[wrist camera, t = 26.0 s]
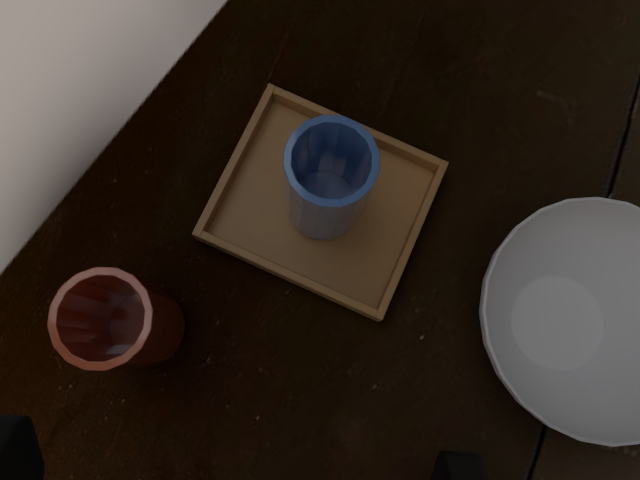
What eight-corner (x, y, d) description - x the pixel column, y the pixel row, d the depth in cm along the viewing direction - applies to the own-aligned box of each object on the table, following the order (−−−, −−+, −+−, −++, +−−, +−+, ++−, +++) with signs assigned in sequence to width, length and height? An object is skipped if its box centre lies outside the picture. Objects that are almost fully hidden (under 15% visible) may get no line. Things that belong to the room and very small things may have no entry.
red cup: (91, 346, 41) (28, 344, 31) (129, 274, 42) (79, 250, 33) (162, 380, 41) (121, 387, 31) (199, 306, 42) (170, 292, 32)
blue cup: (273, 221, 43) (267, 182, 33) (304, 156, 44) (307, 99, 35) (342, 252, 43) (356, 222, 33) (372, 186, 44) (394, 138, 34)
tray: (196, 239, 43) (191, 233, 41) (270, 94, 46) (268, 82, 44) (378, 322, 42) (382, 320, 41) (442, 170, 45) (449, 162, 43)
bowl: (485, 455, 41) (523, 475, 34) (428, 243, 44) (453, 223, 37) (687, 403, 42) (763, 413, 35) (619, 202, 45) (677, 175, 38)
